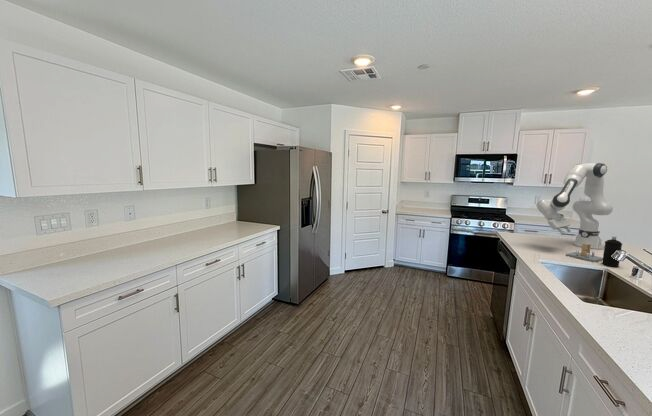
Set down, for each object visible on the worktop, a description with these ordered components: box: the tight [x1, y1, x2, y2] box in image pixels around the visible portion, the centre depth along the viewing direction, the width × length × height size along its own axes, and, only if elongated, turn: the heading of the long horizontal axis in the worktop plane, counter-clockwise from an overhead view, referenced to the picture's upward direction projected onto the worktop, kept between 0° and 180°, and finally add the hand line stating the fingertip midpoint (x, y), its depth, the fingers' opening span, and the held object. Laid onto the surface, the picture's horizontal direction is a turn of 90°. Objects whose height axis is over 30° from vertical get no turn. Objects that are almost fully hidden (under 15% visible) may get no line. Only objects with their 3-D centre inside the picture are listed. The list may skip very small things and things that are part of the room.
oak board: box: [580, 243, 592, 257], centre depth 197 cm, size 5×3×9 cm, turn 115°
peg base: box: [565, 250, 603, 263], centre depth 197 cm, size 14×17×5 cm
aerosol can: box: [601, 236, 623, 268], centre depth 180 cm, size 8×8×20 cm
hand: (566, 232), depth 207 cm, fingers open, 8 cm apart
